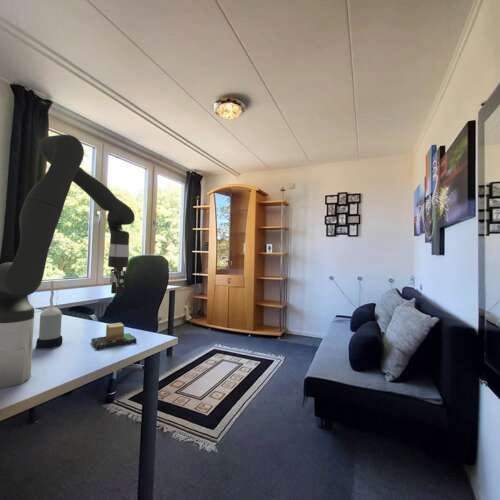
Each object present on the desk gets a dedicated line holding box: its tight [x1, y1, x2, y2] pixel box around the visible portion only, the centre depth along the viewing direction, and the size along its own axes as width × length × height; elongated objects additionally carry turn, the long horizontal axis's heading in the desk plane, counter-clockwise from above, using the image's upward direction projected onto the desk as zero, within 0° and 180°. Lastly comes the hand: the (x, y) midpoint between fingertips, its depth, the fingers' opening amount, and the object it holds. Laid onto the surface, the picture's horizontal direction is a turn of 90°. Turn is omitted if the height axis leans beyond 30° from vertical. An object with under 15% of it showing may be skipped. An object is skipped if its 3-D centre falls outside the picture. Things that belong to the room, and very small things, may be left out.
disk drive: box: [90, 332, 138, 351], centre depth 108 cm, size 10×3×15 cm
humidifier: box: [35, 280, 64, 350], centre depth 103 cm, size 8×8×25 cm
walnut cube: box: [105, 322, 125, 341], centre depth 109 cm, size 6×6×6 cm
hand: (116, 294), depth 109 cm, fingers open, 8 cm apart
